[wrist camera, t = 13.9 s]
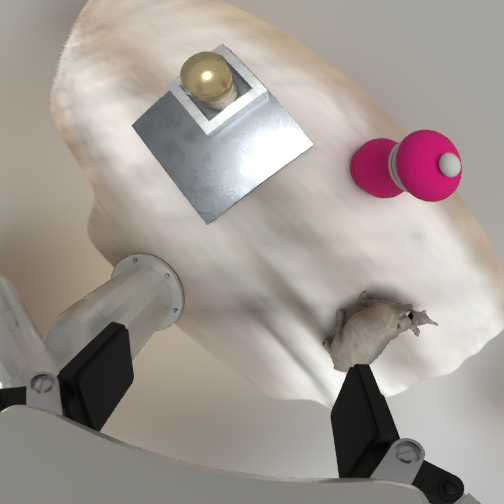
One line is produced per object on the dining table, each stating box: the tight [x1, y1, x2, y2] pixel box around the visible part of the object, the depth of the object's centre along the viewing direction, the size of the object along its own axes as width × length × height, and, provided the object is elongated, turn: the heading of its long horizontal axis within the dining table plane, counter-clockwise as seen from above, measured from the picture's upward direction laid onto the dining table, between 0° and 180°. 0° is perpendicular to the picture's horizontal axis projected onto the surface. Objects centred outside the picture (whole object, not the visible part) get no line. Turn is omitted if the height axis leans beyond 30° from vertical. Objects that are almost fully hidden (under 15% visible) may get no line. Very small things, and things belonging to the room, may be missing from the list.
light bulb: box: [180, 52, 238, 110], centre depth 28 cm, size 5×5×8 cm
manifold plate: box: [132, 44, 313, 225], centre depth 33 cm, size 17×18×4 cm
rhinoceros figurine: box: [323, 291, 438, 372], centre depth 35 cm, size 8×14×15 cm
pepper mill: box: [350, 130, 462, 202], centre depth 25 cm, size 7×7×20 cm
